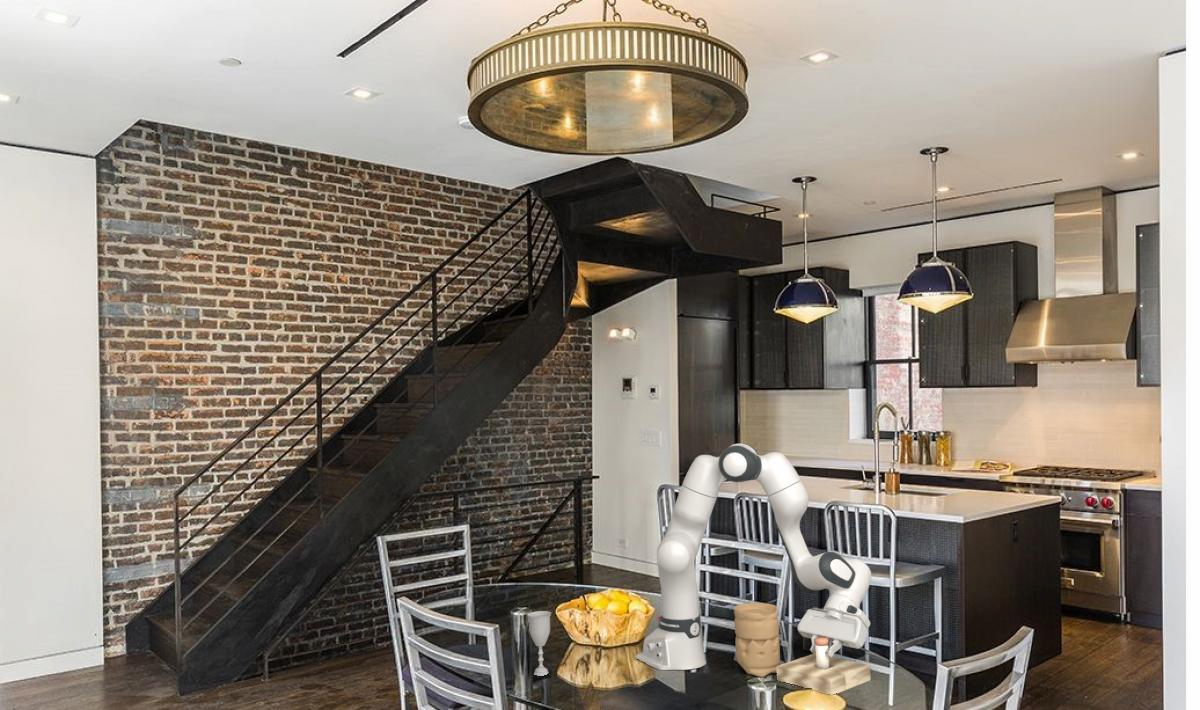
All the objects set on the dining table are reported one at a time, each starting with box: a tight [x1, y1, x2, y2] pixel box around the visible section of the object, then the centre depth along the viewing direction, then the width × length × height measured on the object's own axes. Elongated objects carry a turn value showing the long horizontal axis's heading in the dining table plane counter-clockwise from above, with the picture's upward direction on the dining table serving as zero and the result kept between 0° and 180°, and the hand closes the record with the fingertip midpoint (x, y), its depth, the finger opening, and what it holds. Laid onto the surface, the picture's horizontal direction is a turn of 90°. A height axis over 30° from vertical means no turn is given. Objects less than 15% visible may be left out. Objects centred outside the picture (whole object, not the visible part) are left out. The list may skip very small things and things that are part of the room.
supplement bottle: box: [802, 609, 812, 652], centre depth 278 cm, size 7×7×12 cm
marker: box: [815, 637, 829, 670], centre depth 248 cm, size 4×4×10 cm
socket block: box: [776, 653, 872, 695], centre depth 248 cm, size 18×18×4 cm
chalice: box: [527, 610, 552, 676], centre depth 261 cm, size 7×7×18 cm
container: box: [733, 602, 781, 678], centre depth 260 cm, size 13×13×18 cm
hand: (820, 654), depth 248 cm, fingers closed on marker, 3 cm apart
